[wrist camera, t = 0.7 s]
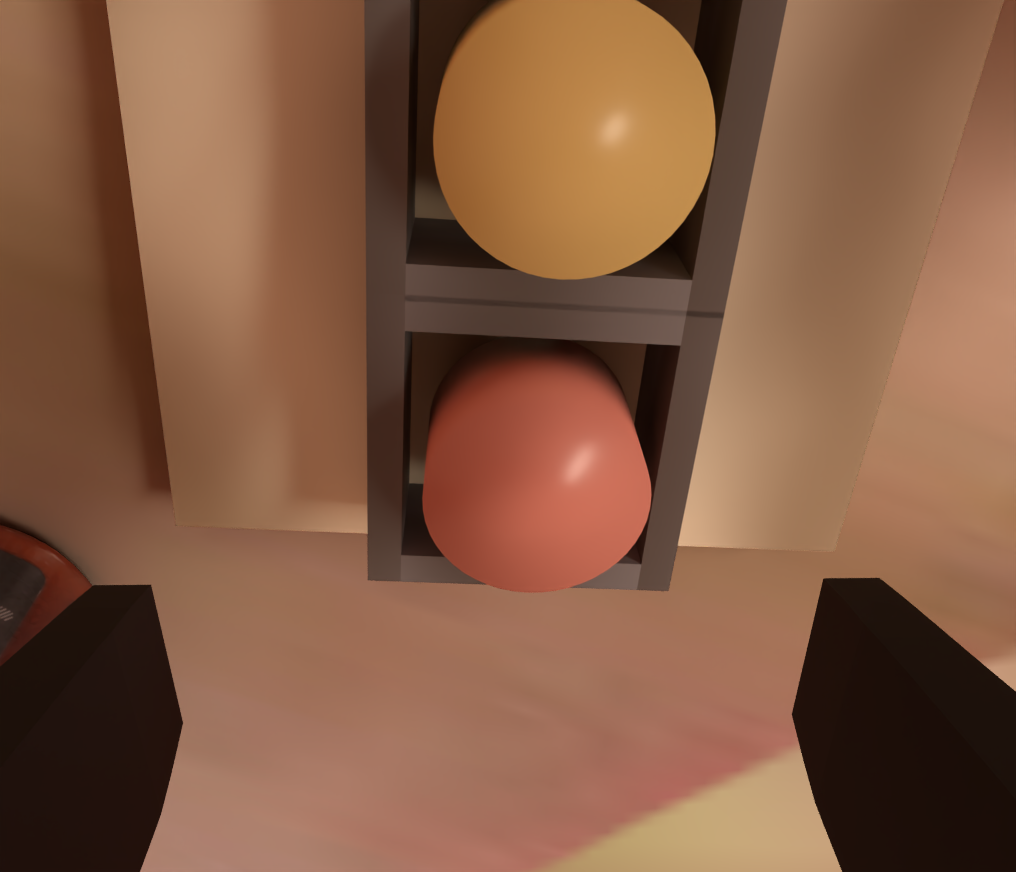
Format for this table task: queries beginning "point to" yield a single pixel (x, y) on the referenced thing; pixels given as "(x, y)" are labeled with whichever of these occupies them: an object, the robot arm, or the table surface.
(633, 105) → the ochre button
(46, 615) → the supplement bottle
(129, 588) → the robot arm
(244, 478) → the button board
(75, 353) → the table surface
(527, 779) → the table surface
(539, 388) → the brick button
